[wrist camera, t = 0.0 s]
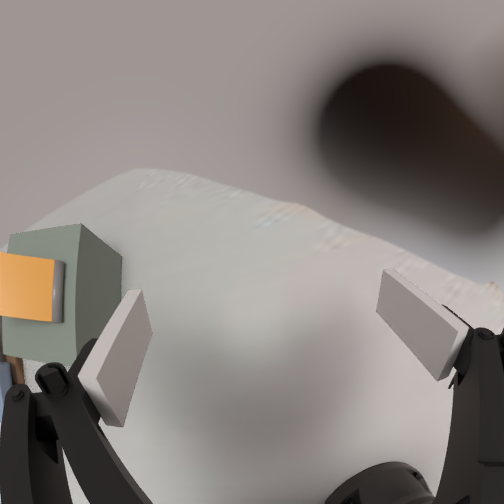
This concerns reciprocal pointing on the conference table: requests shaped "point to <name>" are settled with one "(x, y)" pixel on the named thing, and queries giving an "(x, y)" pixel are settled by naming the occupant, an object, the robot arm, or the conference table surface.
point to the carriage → (4, 383)
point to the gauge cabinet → (67, 294)
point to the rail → (12, 363)
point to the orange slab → (31, 288)
